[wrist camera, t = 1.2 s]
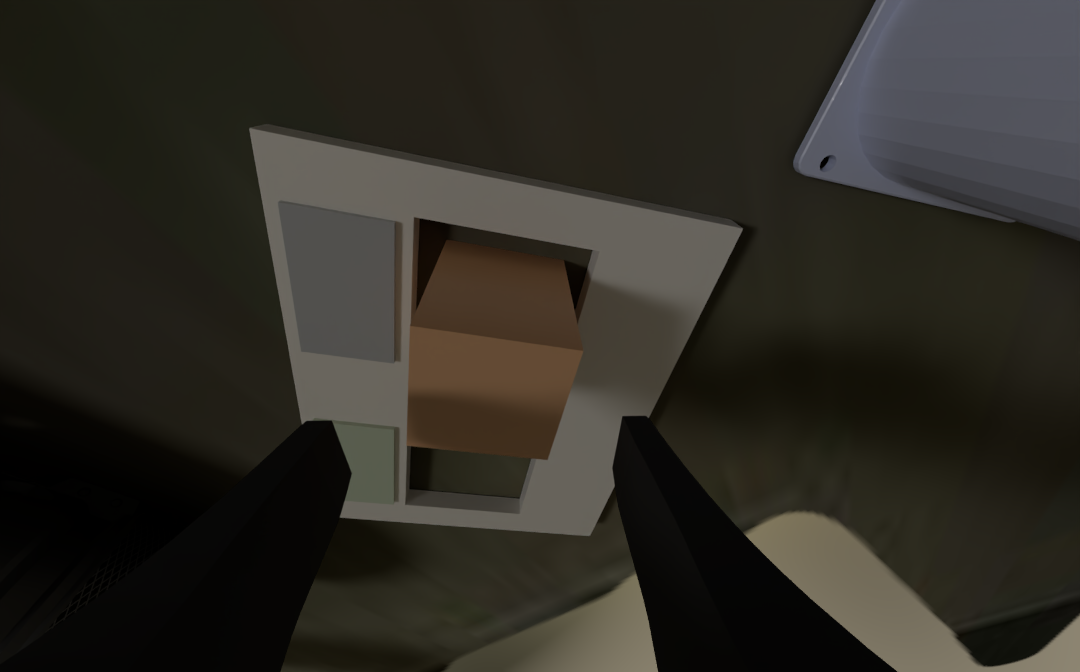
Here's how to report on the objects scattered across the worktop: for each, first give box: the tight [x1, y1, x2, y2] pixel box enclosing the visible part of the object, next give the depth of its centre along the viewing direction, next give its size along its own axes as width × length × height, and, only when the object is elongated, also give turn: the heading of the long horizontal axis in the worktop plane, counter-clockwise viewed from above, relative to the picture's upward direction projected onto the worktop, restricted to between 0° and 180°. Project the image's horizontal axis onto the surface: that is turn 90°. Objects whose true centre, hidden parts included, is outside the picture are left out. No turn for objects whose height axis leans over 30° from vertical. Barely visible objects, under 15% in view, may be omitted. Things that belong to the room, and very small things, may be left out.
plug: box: [406, 240, 583, 460], centre depth 14 cm, size 4×5×6 cm
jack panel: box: [249, 124, 743, 536], centre depth 19 cm, size 16×20×1 cm
